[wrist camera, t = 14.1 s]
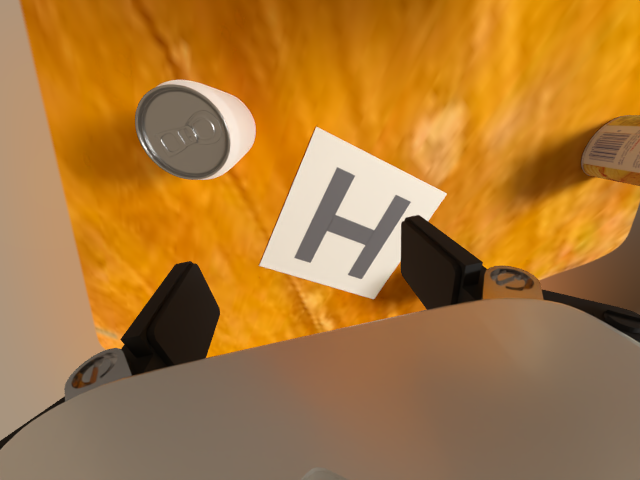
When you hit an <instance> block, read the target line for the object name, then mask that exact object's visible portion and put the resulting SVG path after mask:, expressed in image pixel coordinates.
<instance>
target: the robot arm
mask: <svg viewBox="0 0 640 480" xmlns="http://www.w3.org/2000/svg"><path fill="white" fill-rule="evenodd" d="M482 263H483V262H482V261H480V260H479V259H478V258H476V257H475V256H474V255H472V254H471V253H470V252H468V251H467V250H465V249H464V248H463V247H461V246H460V245H459V244H457V243H456V242H455V241H453V240H452V239H451V238H449V237H448V236H447V235H445V234H444V233H443V232H441V231H440V230H439V229H437V228H436V227H435V226H433V225H432V224H431V223H429V222H428V221H427V220H425V219H424V218H423V217H421V216H420V215H416V216H411V217H406V218H405V220H404V221H402V223H401V273H402V276H403V277H404V279H405V280H406V281H407V283H408V284H409V285H410V287H411V288H412V290H413V291H414V292H415V294H416V295H417V296H418V298H419V299H420V300H421V302H422V303H423V305H424V306H425V307H426V309H427V310H424V311H419V312H415V313H410V314H405V315H401V316H396V317H391V318H387V319H382V320H377V321H373V322H368V323H363V324H359V325H354V326H350V327H345V328H341V329H336V330H332V331H327V332H322V333H318V334H313V335H309V336H304V337H300V338H295V339H291V340H286V341H281V342H277V343H272V344H268V345H263V346H259V347H254V348H250V349H245V350H240V351H236V352H231V353H227V354H223V355H218V356H214V357H209V358H206V356H207V352H208V349H209V346H210V343H211V340H212V337H213V334H214V331H215V328H216V325H217V322H218V319H219V315H220V310H219V307H218V305H217V303H216V301H215V299H214V297H213V295H212V293H211V291H210V288H209V286H208V284H207V282H206V280H205V278H204V276H203V274H202V272H201V270H200V268H199V266H198V265H197V264H193V263H192V262H191V261H189V262H184V263H179V264H176V265H175V266H174V267H173V269H172V270H171V271H170V273H169V274H168V275H167V277H166V278H165V279H164V281H163V282H162V284H161V285H160V286H159V288H158V289H157V290H156V292H155V293H154V294H153V296H152V297H151V299H150V300H149V301H148V303H147V304H146V305H145V307H144V308H143V309H142V311H141V312H140V314H139V315H138V316H137V318H136V319H135V320H134V322H133V323H132V325H131V326H130V327H129V329H128V330H127V331H126V333H125V334H124V335H123V337H122V338H121V341H122V342H123V343H124V344H125V345H124V346H123V347H122V349H118V348H113V349H108V350H105V351H102V352H100V353H98V354H96V355H94V356H93V357H91V358H90V359H88V360H87V361H85V362H84V363H83V364H82V365H80V366H79V367H78V368H77V369H76V370H75V371H74V372H73V374H71V376H70V377H69V379H68V380H67V382H66V384H65V397H63V398H62V399H60V400H59V401H57V402H56V403H55V404H53V405H52V406H50V407H49V408H47V409H46V410H45V411H43V412H41V413H40V414H39V415H37V416H36V417H34V418H33V419H31V420H30V421H28V422H27V423H26V424H24V425H23V426H21V427H20V428H18V429H17V430H15V431H14V432H12V433H11V434H10V435H8V436H7V437H5V438H4V439H2V440H1V441H0V480H640V315H639V314H637V313H635V312H632V311H630V310H627V309H623V308H619V307H615V306H611V305H607V304H602V303H598V302H594V301H589V300H585V299H580V298H576V297H572V296H568V295H564V294H559V293H555V292H550V291H546V290H542V289H541V284H540V282H539V280H538V279H537V278H536V277H535V276H534V275H532V274H530V273H529V272H527V271H524V270H522V269H519V268H515V267H511V266H494V267H491V268H489V269H486V268H485V267H483V266H482Z"/></svg>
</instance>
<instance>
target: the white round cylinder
mask: <svg viewBox="0 0 640 480" xmlns="http://www.w3.org/2000/svg"><path fill="white" fill-rule="evenodd" d="M135 126H136V132H137V135H138V138H139V141H140V143H141V145H142V147H143V149H144V150H145V152H146V153H147V155H148V156H149V157H150V158H151V159H152V160H153V161H154V162H155V163H156V164H157V165H158V166H159V167H160V168H162V169H163V170H165V171H166V172H168V173H170V174H172V175H174V176H177V177H180V178H184V179H191V180H207V179H213V178H216V177H218V176H221V175H223V174H224V173H226V172H227V171H228V170H230V169H231V168H232V167H233V166H234V165H235V164H236V163H237V162H238V161H239V160H240V159H241V158H242V157H243V156H244V155H245V154H246V153H247V152H248V151H249V150H250V148H251V147H252V145H253V143H254V140H255V135H256V126H255V121H254V119H253V116H252V114H251V113H250V111H249V109H248V108H247V107H246V105H245V104H244V103H243V102H242V101H241V100H239V99H238V98H236V97H235V96H233V95H231V94H228V93H226V92H223V91H221V90H218V89H215V88H212V87H209V86H207V85H204V84H201V83H197V82H194V81H189V80H172V81H167V82H164V83H162V84H160V85H158V86H157V87H156V88H153V89H152V90H150V91H149V92H147V93H146V94H145V95H144V96H143V98H142V99H141V101H140V102H139V104H138V107H137V110H136V115H135Z"/></svg>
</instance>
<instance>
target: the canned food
mask: <svg viewBox="0 0 640 480" xmlns="http://www.w3.org/2000/svg"><path fill="white" fill-rule="evenodd" d="M581 165H582V169H583V171H584V173H586V174H587V175H589V176H593V177H598V178H603V179H608V180H613V181H618V182H623V183H628V184H633V185H638V186H640V115H628V116H621V117H618V118H616V119H613V120H611V121H610V122H608V123H607V124H605V125H604V126H603V127H602V128H601V129H600V130H598V131H597V132H596V133H595V135H594V136H593V137H592V138H591V139H590V141H589V143H588V144H587V146H586V148H585V150H584V153H583V155H582V160H581Z"/></svg>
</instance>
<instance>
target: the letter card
mask: <svg viewBox="0 0 640 480" xmlns="http://www.w3.org/2000/svg"><path fill="white" fill-rule="evenodd" d="M446 194H447V193H445V192H443V191H441V190H439V189H437V188H435V187H433V186H431V185H429V184H427V183H425V182H423V181H421V180H419V179H417V178H415V177H413V176H412V175H410V174H408V173H406V172H404V171H402V170H400V169H398V168H396V167H394V166H392V165H390V164H388V163H386V162H384V161H382V160H380V159H378V158H376V157H374V156H372V155H371V154H369V153H367V152H365V151H363V150H361V149H359V148H357V147H355V146H353V145H351V144H349V143H347V142H345V141H343V140H341V139H339V138H337V137H335V136H333V135H331V134H330V133H328V132H326V131H324V130H322V129H320V128H318V127H316V129H315V131H314V134H313V136H312V138H311V141H310V143H309V146H308V148H307V151H306V153H305V156H304V158H303V160H302V163H301V165H300V168H299V170H298V173H297V175H296V177H295V180H294V182H293V185H292V187H291V190H290V192H289V194H288V197H287V199H286V202H285V204H284V207H283V209H282V212H281V214H280V216H279V219H278V221H277V224H276V226H275V229H274V231H273V233H272V236H271V238H270V241H269V243H268V246H267V248H266V250H265V253H264V255H263V258H262V260H261V263H260V265H259V266H262V267H266V268H269V269H272V270H276V271H279V272H283V273H286V274H289V275H293V276H296V277H300V278H303V279H306V280H310V281H313V282H317V283H320V284H324V285H327V286H330V287H334V288H337V289H341V290H344V291H347V292H351V293H354V294H358V295H361V296H364V297H368V298H371V299H375V297H376V296H377V294H378V293H379V291H380V290H381V288H382V287H383V286H384V284H385V283H386V281H387V280H388V278H389V277H390V275H391V274H392V273H393V271H394V270H395V268H396V267H397V265H398V264H399V262H400V261H401V223H402V221H404V220H405V218H406V217H411V216H416V215H420V216H421V217H423V218H424V219H425V220H427V221H428V220H429V219H430V218H431V216H432V215H433V213H434V212H435V210H436V209H437V207H438V206H439V205H440V203H441V202H442V200H443V199H444V197H445V196H446Z"/></svg>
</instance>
